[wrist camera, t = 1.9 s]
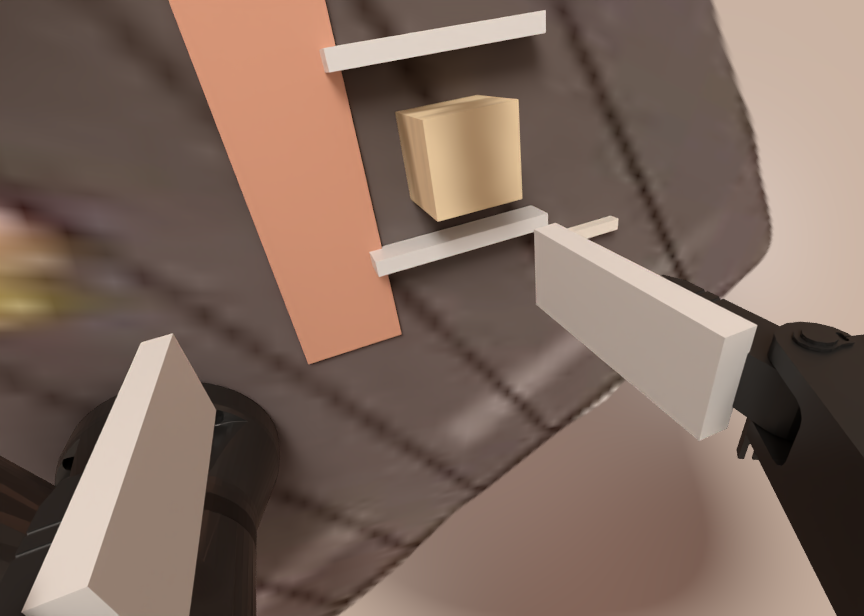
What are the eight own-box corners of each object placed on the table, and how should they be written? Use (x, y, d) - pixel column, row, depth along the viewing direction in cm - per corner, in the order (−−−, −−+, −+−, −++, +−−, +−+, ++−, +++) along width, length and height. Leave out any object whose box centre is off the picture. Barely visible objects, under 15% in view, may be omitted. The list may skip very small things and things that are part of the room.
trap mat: (308, 361, 35) (308, 364, 35) (135, -87, 21) (134, -90, 21) (400, 331, 37) (401, 334, 37) (300, -103, 23) (300, -106, 22)
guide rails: (371, 264, 33) (378, 277, 31) (318, 50, 26) (323, 48, 24) (531, 219, 36) (548, 227, 34) (525, 14, 29) (545, 10, 27)
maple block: (410, 198, 32) (437, 221, 27) (394, 111, 29) (422, 120, 24) (483, 179, 33) (522, 198, 28) (475, 94, 30) (518, 99, 25)
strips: (552, 243, 38) (559, 247, 37) (550, -42, 28) (559, -46, 27) (609, 226, 39) (617, 229, 39) (628, -54, 29) (639, -57, 28)
